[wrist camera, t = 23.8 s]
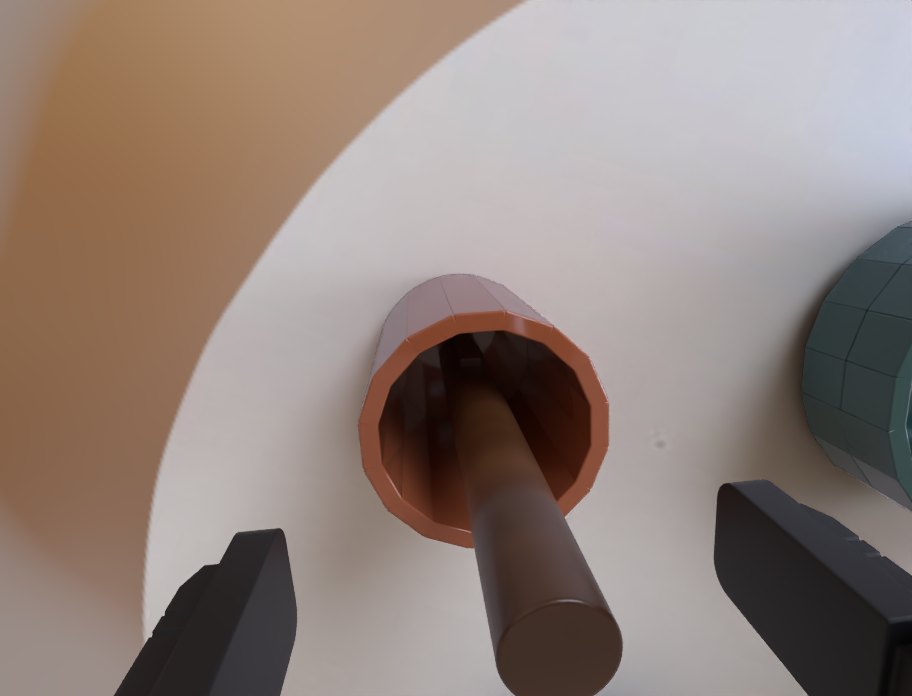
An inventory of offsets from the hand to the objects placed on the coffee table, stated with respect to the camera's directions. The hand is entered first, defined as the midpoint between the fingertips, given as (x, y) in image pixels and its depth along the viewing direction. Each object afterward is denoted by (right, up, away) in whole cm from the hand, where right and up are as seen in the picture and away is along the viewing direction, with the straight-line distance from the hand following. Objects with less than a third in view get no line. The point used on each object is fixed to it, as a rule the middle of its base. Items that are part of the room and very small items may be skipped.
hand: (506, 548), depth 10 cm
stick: (-1, +3, +16) cm, 16 cm away
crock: (-1, +3, +16) cm, 17 cm away
